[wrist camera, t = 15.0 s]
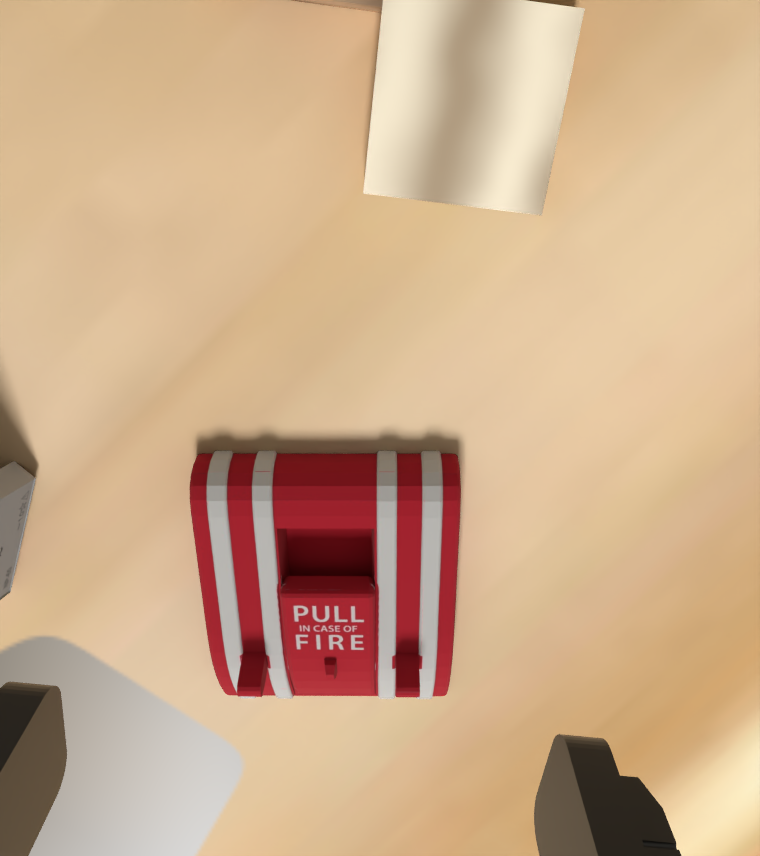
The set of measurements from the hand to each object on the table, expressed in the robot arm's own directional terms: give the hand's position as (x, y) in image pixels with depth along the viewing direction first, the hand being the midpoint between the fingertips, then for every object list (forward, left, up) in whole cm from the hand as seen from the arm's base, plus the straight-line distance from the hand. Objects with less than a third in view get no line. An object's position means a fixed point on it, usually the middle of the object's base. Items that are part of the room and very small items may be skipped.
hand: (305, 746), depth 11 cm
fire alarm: (0, +20, -31) cm, 37 cm away
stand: (-4, -10, -30) cm, 32 cm away
